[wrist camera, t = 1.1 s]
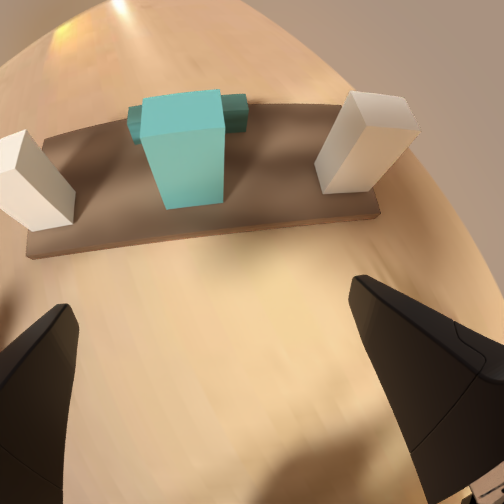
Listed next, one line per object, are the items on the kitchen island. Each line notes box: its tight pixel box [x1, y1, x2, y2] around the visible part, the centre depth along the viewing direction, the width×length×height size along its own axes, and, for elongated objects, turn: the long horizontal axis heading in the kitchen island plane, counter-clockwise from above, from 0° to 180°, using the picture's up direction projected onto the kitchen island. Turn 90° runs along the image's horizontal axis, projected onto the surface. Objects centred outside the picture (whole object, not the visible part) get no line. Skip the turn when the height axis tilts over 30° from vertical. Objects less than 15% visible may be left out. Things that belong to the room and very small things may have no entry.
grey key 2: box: [0, 129, 76, 232], centre depth 17 cm, size 3×4×9 cm
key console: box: [26, 94, 381, 260], centre depth 23 cm, size 12×31×4 cm, turn 99°
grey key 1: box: [314, 91, 421, 194], centre depth 21 cm, size 3×4×9 cm
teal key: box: [140, 89, 225, 210], centre depth 19 cm, size 3×4×9 cm
